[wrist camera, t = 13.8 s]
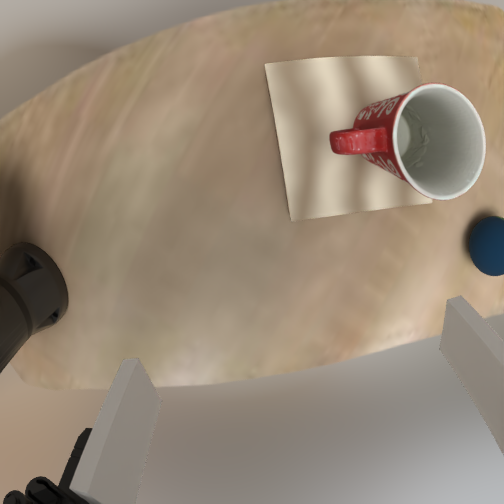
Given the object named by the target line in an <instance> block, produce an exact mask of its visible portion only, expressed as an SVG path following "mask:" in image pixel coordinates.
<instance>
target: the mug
mask: <svg viewBox="0 0 504 504" xmlns="http://www.w3.org/2000/svg"><path fill="white" fill-rule="evenodd" d="M329 141H330V146H331V149H332V152H333V153H335V154H339V155H356V154H361V155H362V157H364V158H365V159H366V160H367V161H369V162H371V163H372V164H374V165H376V166H378V167H380V168H382V169H384V170H385V171H387V172H389V173H391V174H393V175H394V176H396V177H398V178H400V179H401V180H403V181H405V182H406V183H408V184H410V185H411V186H412V187H413V188H414V189H415V190H416V191H418V192H419V193H420V194H422V195H424V196H425V197H428V198H431V199H434V200H450V199H454V198H456V197H459V196H461V195H462V194H464V193H465V192H467V191H468V190H469V189H470V188H471V187H472V186H473V184H474V183H475V181H476V180H477V178H478V177H479V175H480V172H481V170H482V167H483V164H484V160H485V153H486V139H485V132H484V128H483V124H482V121H481V119H480V117H479V114H478V112H477V111H476V109H475V107H474V106H473V104H472V103H471V102H470V101H469V100H468V98H467V97H466V96H464V95H463V94H462V93H461V92H459V91H458V90H456V89H455V88H453V87H451V86H448V85H445V84H441V83H426V84H423V85H420V86H418V87H416V88H414V89H413V90H411V91H409V92H406V93H403V94H400V95H397V96H395V97H391V98H388V99H385V100H382V101H379V102H376V103H373V104H370V105H368V106H367V107H365V108H364V109H362V110H361V111H360V112H359V114H358V115H357V117H356V119H355V121H354V124H353V128H351V129H344V130H338V131H333V132H331V133H330V134H329Z"/></svg>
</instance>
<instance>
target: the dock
mask: <svg viewBox="0 0 504 504" xmlns="http://www.w3.org/2000/svg"><path fill="white" fill-rule="evenodd" d="M264 66H265V74H266V80H267V85H268V90H269V95H270V97H271V103H272V108H273V114H274V119H275V125H276V135H277V141H278V147H279V153H280V155H281V161H282V167H283V173H284V180H285V186H286V187H285V190H286V197H287V204H288V211H289V214H290V220H291V222H294V221H300V220H307V219H314V218H321V217H328V216H335V215H343V214H350V213H357V212H365V211H372V210H380V209H387V208H395V207H403V206H411V205H419V204H427V203H432V199H431V198H428V197H425V196H424V195H422V194H420V193H419V192H418V191H416V190H415V189H414V188H413V187H412V186H411V185H410V184H408V183H406V182H405V181H403V180H401V179H400V178H398V177H396V176H394V175H393V174H391V173H389V172H387V171H385V170H384V169H382V168H380V167H378V166H376V165H374V164H372V163H371V162H369V161H367V160H366V159H365V158H364V157H362V155H361V154H356V155H339V154H335V153H333V152H332V149H331V146H330V141H329V134H330V133H331V132H333V131H338V130H344V129H351V128H353V124H354V121H355V119H356V117H357V115H358V114H359V112H360V111H361V110H362V109H364V108H365V107H367V106H368V105H370V104H373V103H376V102H379V101H382V100H385V99H388V98H391V97H395V96H397V95H400V94H403V93H406V92H409V91H411V90H413V89H414V88H416V87H418V86H420V85H422V81H421V75H420V69H419V64H418V59H417V57H402V56H344V57H326V58H312V59H301V60H292V61H283V62H275V63H268V64H265V65H264Z"/></svg>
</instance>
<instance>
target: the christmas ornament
mask: <svg viewBox="0 0 504 504" xmlns="http://www.w3.org/2000/svg"><path fill="white" fill-rule="evenodd" d="M469 252H470V256H471V259H472V261H473V263H474V264H475V266H476V267H477V268H478V269H479V270H480V271H481V272H483V273H484V274H487V275H490V276H500V275H503V274H504V218H501V217H497V216H492V217H487V218H485V219H483V220H481V221H480V222H479V223H478V224H477V225H476V226H475V228H474V229H473V231H472V233H471V236H470V240H469Z"/></svg>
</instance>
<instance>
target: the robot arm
mask: <svg viewBox="0 0 504 504" xmlns="http://www.w3.org/2000/svg"><path fill="white" fill-rule="evenodd" d="M67 304H68V295H67V289H66V285H65V282H64V279H63V277H62V275H61V273H60V271H59V269H58V268H57V266H56V265H55V263H54V262H53V261H52V259H51V258H50V257H49V256H48V255H47V254H46V253H45V252H44V251H42V250H41V249H40V248H38V247H36V246H34V245H32V244H29V243H18V244H15V245H13V246H12V247H10V248H9V249H7V250H6V251H5V252H4V253H3V254H2V256H1V257H0V373H1V372H2V370H3V369H4V368H5V367H6V365H7V364H8V363H9V362H10V360H11V359H12V358H13V357H14V355H15V354H16V353H17V352H18V350H19V349H20V348H21V347H22V346H23V344H24V343H25V342H26V341H27V340H28V339H29V337H30V336H31V335H33V334H35V333H38V332H40V331H42V330H44V329H46V328H49V327H51V326H53V325H54V324H56V323H57V322H58V321H59V319H60V318H61V317H62V316H63V315H64V313H65V311H66V309H67ZM439 349H440V350H441V352H442V354H443V355H444V356H445V358H446V360H447V361H448V363H449V364H450V365H451V367H452V368H453V370H454V372H455V373H456V375H457V376H458V378H459V379H460V381H461V383H462V384H463V386H464V387H465V389H466V391H467V392H468V394H469V395H470V397H471V399H472V400H473V402H474V403H475V405H476V407H477V408H478V410H479V412H480V414H481V415H482V417H483V419H484V421H485V422H486V424H487V426H488V428H489V429H490V431H491V433H492V435H493V436H494V438H495V440H496V442H497V444H498V446H499V448H500V449H501V451H502V453H503V455H504V341H503V340H502V339H501V338H500V336H499V335H498V334H497V333H496V332H495V331H494V330H493V329H492V327H490V325H489V324H488V323H487V322H486V321H485V320H484V319H483V318H482V317H481V316H480V315H479V313H478V312H477V311H476V310H475V309H474V308H473V307H472V306H471V305H470V304H469V303H468V302H467V301H466V300H465V299H464V298H463V297H462V296H458V297H454V298H451V299H448V300H447V304H446V311H445V318H444V325H443V331H442V337H441V343H440V348H439ZM161 403H162V399H161V398H160V396H159V394H158V393H157V391H156V389H155V387H154V385H153V384H152V382H151V380H150V378H149V376H148V375H147V373H146V371H145V369H144V367H143V365H142V364H141V362H140V360H139V358H134V359H123V362H122V364H121V366H120V368H119V370H118V372H117V374H116V377H115V379H114V381H113V383H112V385H111V388H110V390H109V392H108V394H107V397H106V399H105V401H104V403H103V406H102V408H101V410H100V412H99V415H98V417H97V419H96V422H95V424H94V427H93V428H86V429H85V430H84V431H83V432H82V433H81V435H80V436H79V437H78V439H77V442H76V444H75V446H74V449H73V451H72V453H71V458H69V460H68V463H67V465H66V468H65V470H64V473H63V475H62V478H61V480H60V483H59V485H58V487H57V486H56V485H55V484H54V483H53V482H51V481H50V480H49V479H47V478H46V477H41V476H40V477H36V478H34V479H32V480H31V481H30V482H29V484H28V485H27V487H26V490H25V495H24V494H23V493H21V492H20V491H16V490H13V491H11V492H9V493H8V494H7V495H6V496H5V498H4V501H3V504H136V500H137V496H138V492H139V488H140V483H141V479H142V475H143V471H144V467H145V463H146V459H147V456H148V451H149V448H150V444H151V440H152V436H153V433H154V429H155V425H156V421H157V418H158V414H159V410H160V407H161Z"/></svg>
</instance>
